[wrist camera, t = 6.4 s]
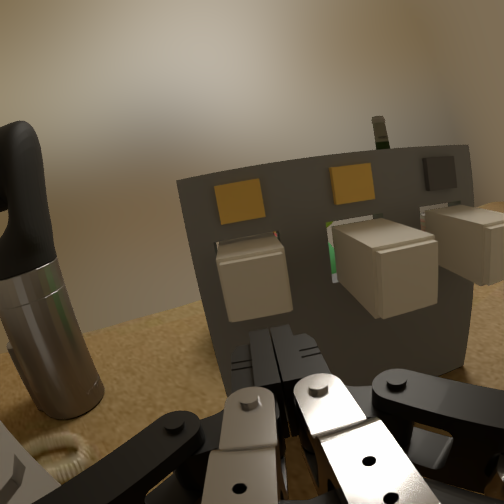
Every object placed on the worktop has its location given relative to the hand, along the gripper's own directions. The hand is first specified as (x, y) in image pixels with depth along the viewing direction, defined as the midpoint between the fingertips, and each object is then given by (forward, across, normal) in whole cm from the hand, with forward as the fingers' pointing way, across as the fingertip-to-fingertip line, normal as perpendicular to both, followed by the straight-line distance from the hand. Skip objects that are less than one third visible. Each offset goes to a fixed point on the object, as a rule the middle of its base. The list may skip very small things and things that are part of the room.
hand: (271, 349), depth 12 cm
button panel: (+13, -8, +15) cm, 21 cm away
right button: (+7, -16, +2) cm, 18 cm away
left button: (+11, 0, +2) cm, 11 cm away
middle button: (+7, -8, +2) cm, 11 cm away
